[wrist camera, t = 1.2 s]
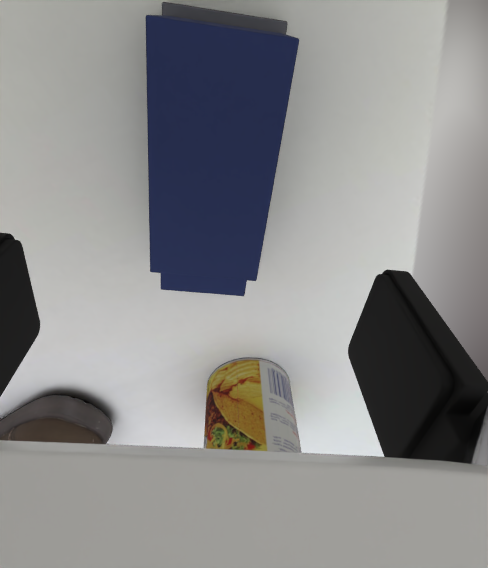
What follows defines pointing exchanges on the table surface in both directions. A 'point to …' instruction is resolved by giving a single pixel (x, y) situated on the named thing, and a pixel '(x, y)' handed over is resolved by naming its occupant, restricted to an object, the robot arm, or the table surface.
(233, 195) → the blue stepped block
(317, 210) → the table surface
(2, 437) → the loafer
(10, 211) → the table surface
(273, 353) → the table surface
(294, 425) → the canned food
